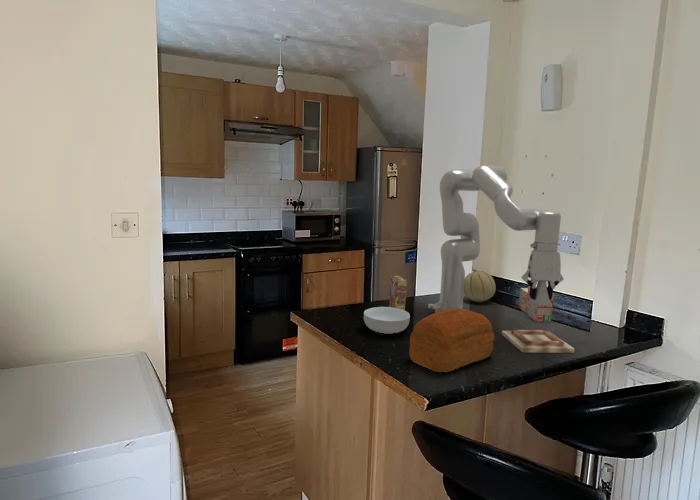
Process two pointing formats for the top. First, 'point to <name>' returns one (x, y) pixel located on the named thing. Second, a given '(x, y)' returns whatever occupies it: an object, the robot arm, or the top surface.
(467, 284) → the cantaloupe
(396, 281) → the candy box
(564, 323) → the top surface
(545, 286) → the flask
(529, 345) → the board
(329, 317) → the top surface
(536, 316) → the stack of blocks
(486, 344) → the bread
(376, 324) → the cereal bowl
